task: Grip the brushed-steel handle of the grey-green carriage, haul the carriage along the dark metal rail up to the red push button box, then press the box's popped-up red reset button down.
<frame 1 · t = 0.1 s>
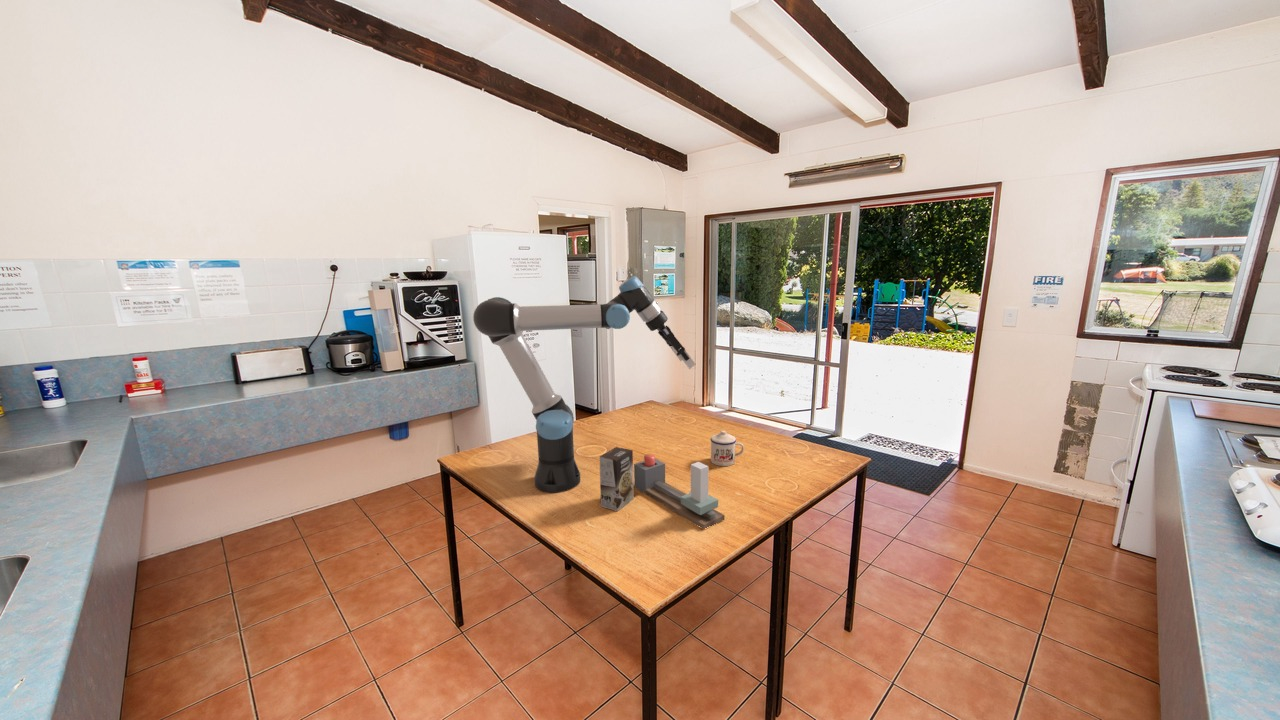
hand: (687, 362, 168), 36 cm above the table, tool tilted 35°, fingers open, 13 cm apart
teacup with lid: (726, 462, 170), on the table
coffee box: (617, 503, 142), on the table
red push button box: (649, 486, 152), on the table
reset button: (649, 463, 150), point 8 cm above the table, slide at 0.0 cm
rail base: (682, 506, 139), on the table
carriage: (699, 485, 132), point 9 cm above the table, slide at -7.0 cm
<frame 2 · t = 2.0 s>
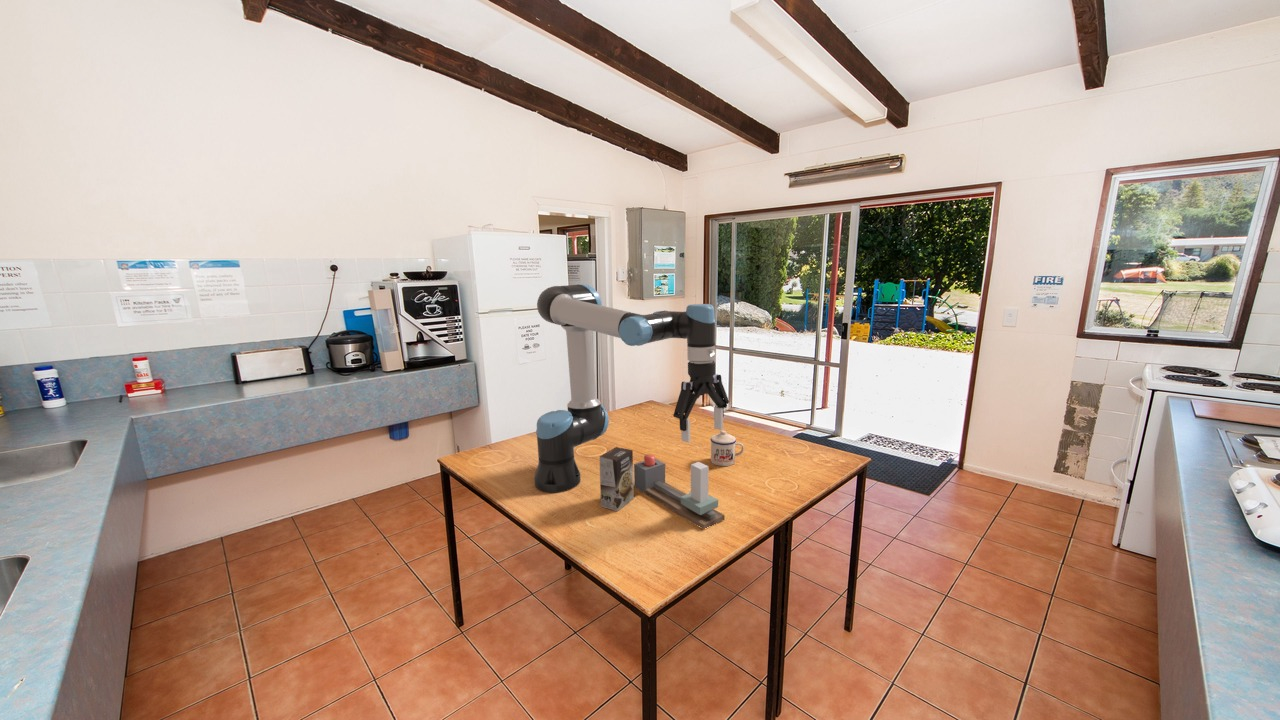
hand: (702, 435, 131), 23 cm above the table, tool pointing down, fingers open, 13 cm apart
nothing on the table moved.
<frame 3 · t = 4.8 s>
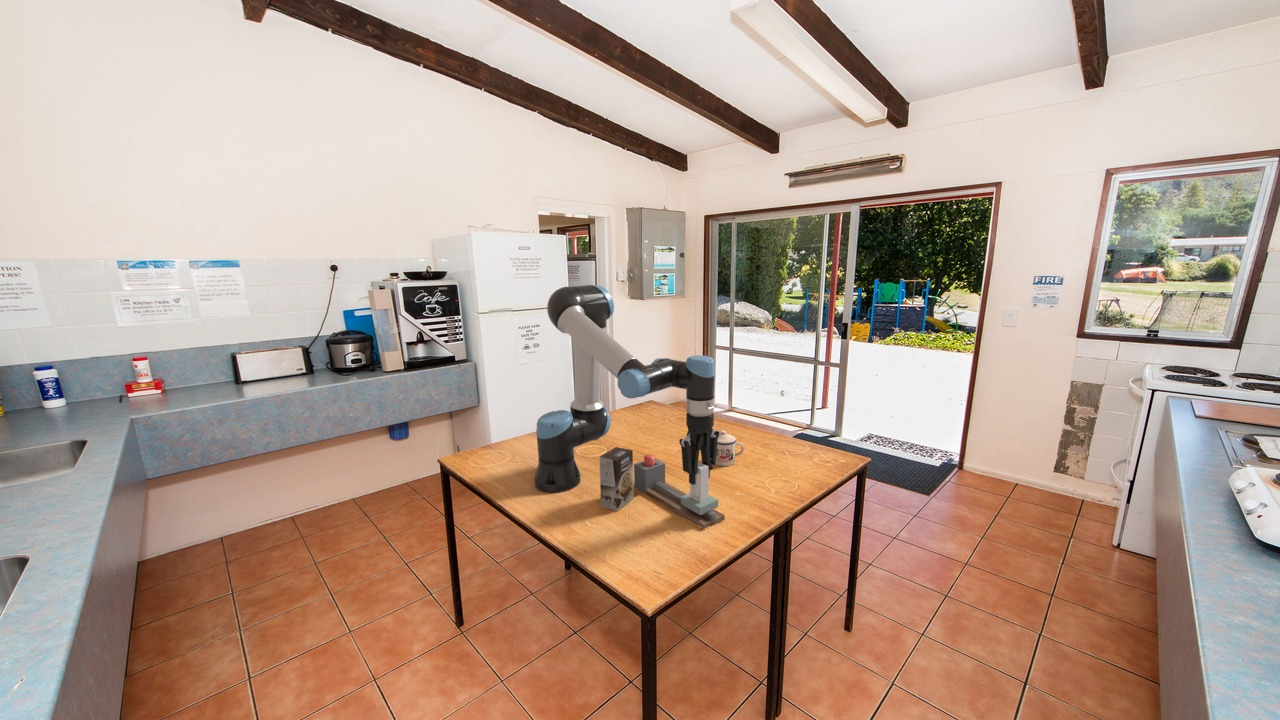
hand: (699, 491, 132), 8 cm above the table, tool pointing down, fingers closed on carriage, 3 cm apart
carriage: (699, 485, 132), point 9 cm above the table, slide at -7.0 cm, touching gripper
everything else where it was.
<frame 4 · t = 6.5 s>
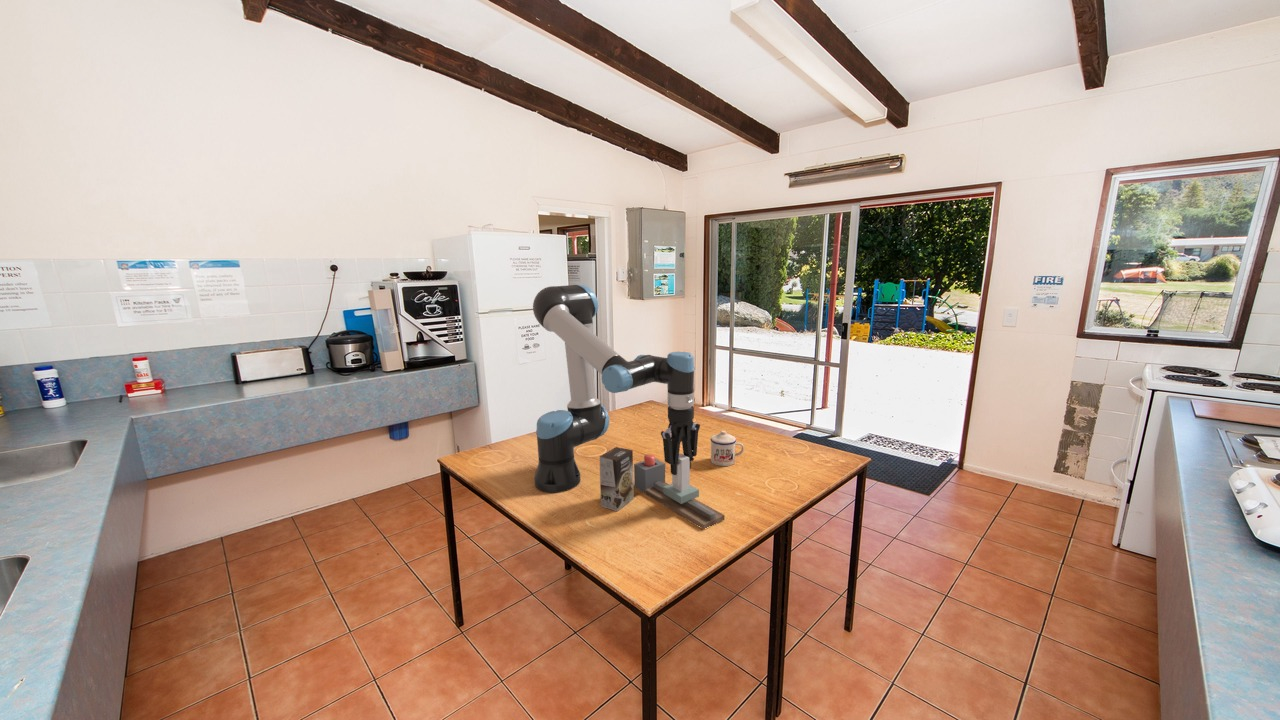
hand: (680, 481, 138), 8 cm above the table, tool pointing down, fingers closed on carriage, 3 cm apart
carriage: (681, 476, 138), point 9 cm above the table, slide at 0.8 cm, touching gripper
everything else where it was.
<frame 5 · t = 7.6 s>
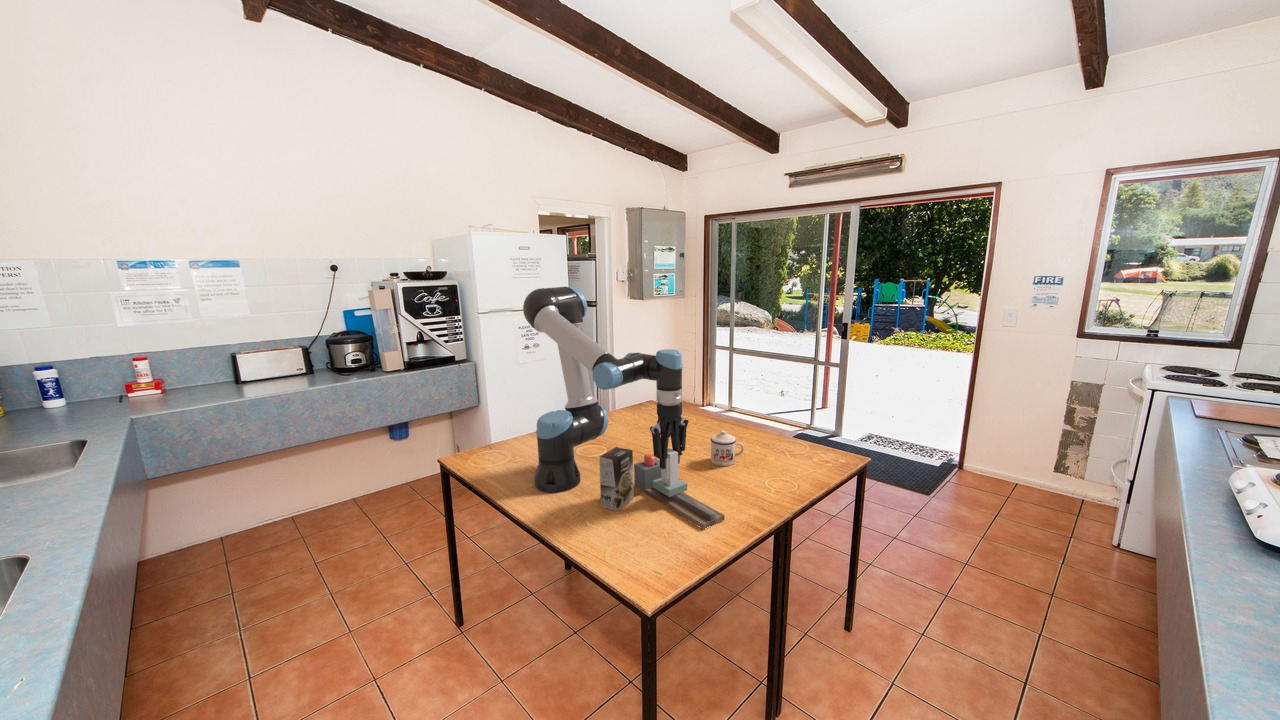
hand: (669, 475, 142), 8 cm above the table, tool pointing down, fingers closed on carriage, 3 cm apart
carriage: (669, 470, 142), point 9 cm above the table, slide at 5.9 cm, touching gripper
everything else where it was.
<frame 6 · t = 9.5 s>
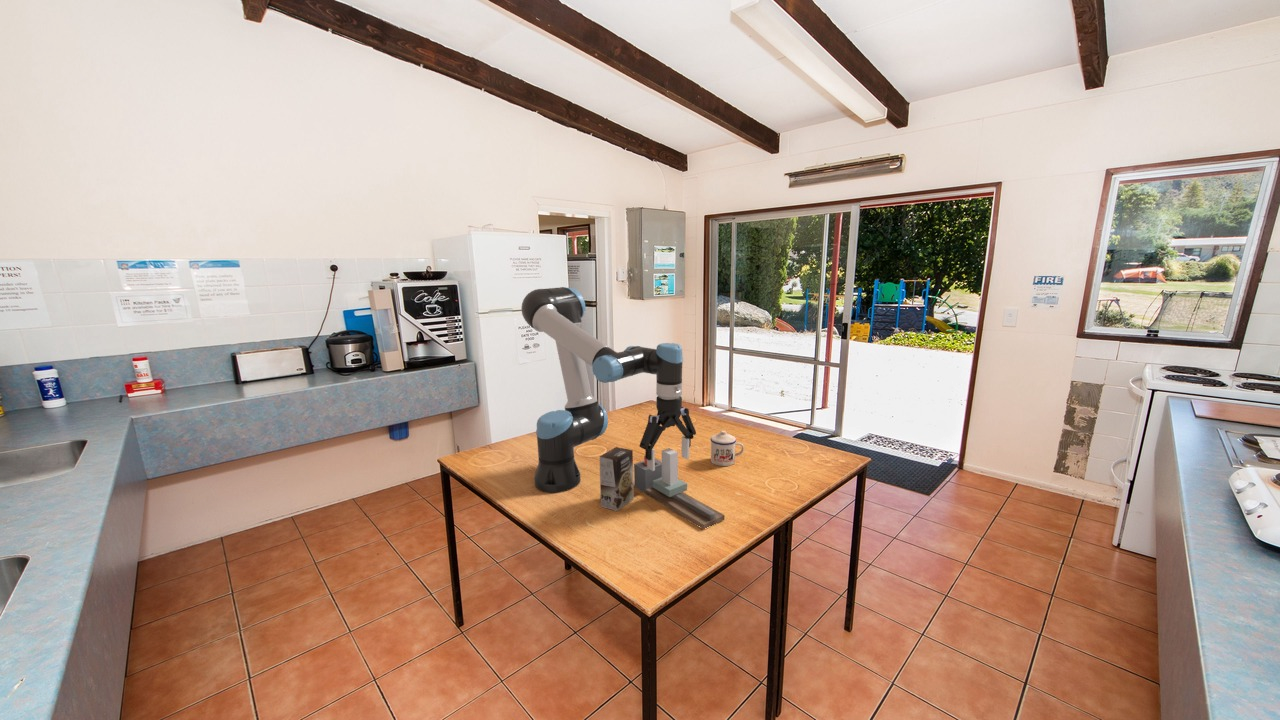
hand: (668, 463, 142), 12 cm above the table, tool pointing down, fingers open, 13 cm apart
carriage: (669, 470, 142), point 9 cm above the table, slide at 6.0 cm
everything else where it was.
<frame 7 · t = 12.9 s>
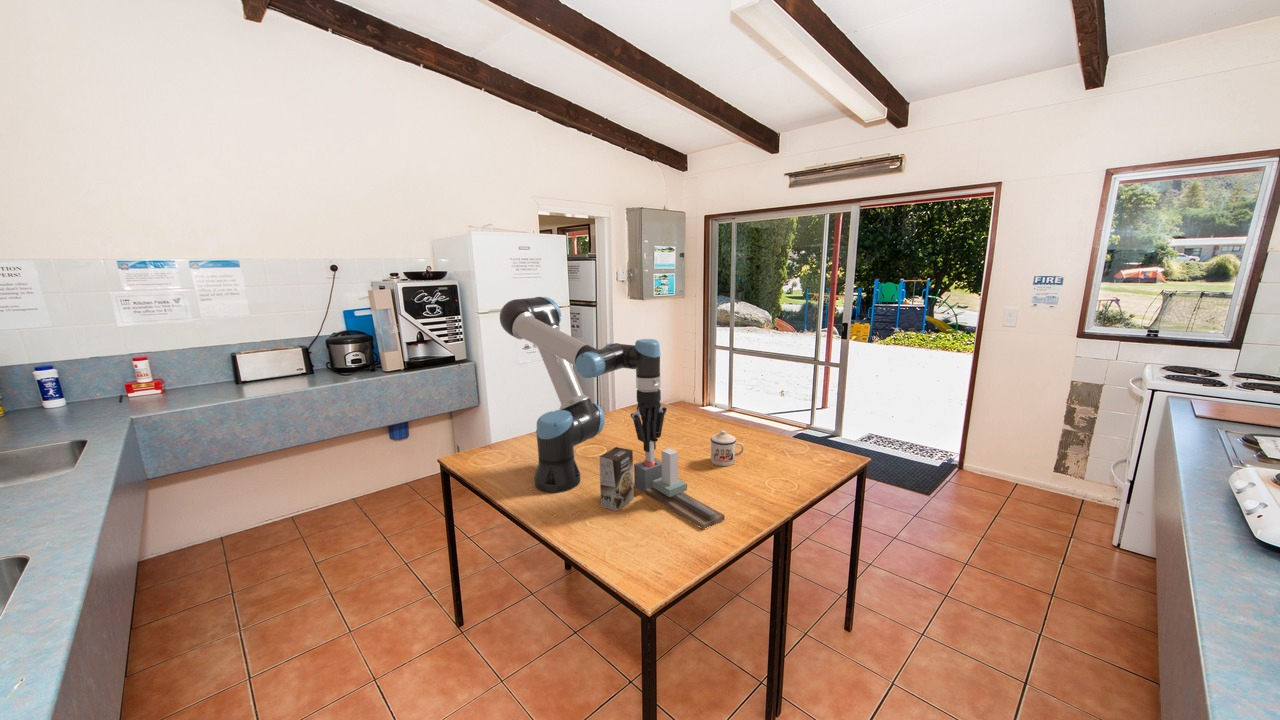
hand: (649, 460, 150), 9 cm above the table, tool pointing down, fingers closed
reset button: (649, 468, 150), point 7 cm above the table, slide at 1.5 cm, touching gripper
everything else where it was.
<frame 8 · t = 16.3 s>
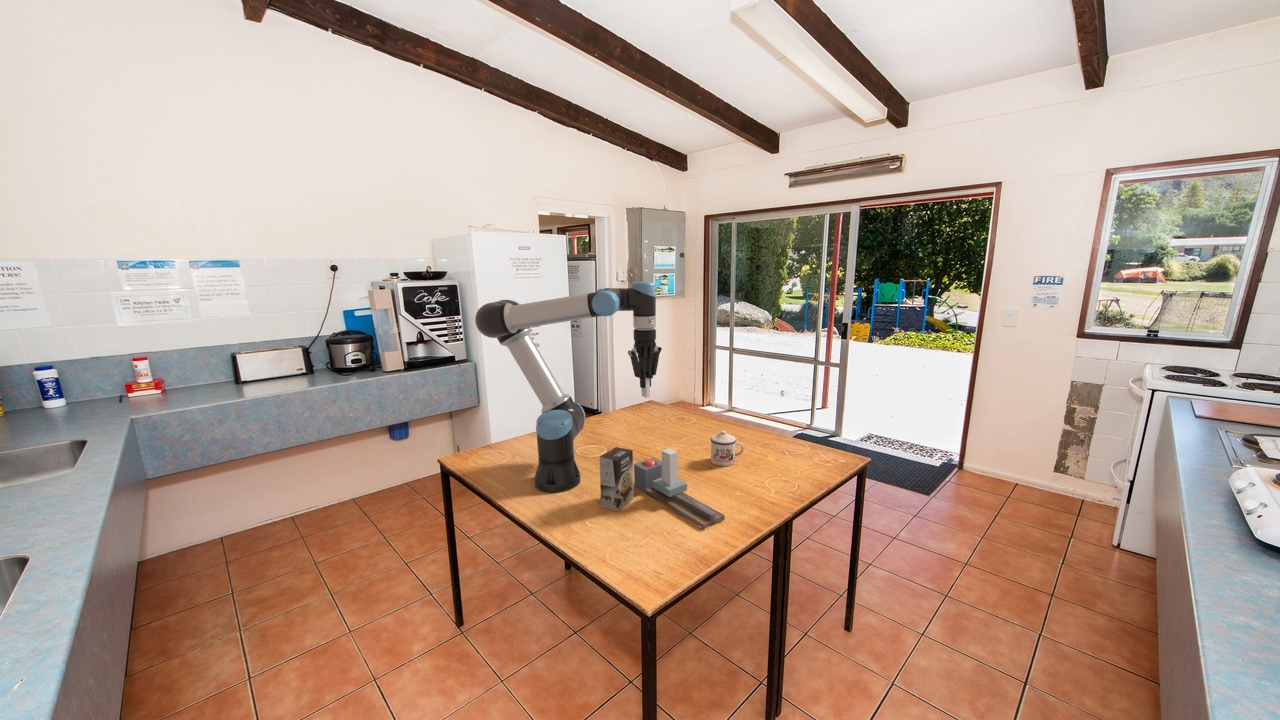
hand: (645, 396, 161), 26 cm above the table, tool pointing down, fingers closed
reset button: (649, 469, 151), point 6 cm above the table, slide at 1.8 cm
everything else where it was.
at the end: carriage slide at 6.0 cm; reset button slide at 1.8 cm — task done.
